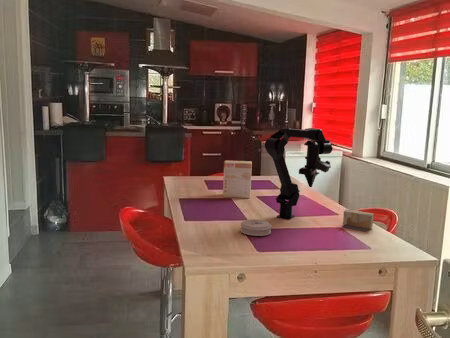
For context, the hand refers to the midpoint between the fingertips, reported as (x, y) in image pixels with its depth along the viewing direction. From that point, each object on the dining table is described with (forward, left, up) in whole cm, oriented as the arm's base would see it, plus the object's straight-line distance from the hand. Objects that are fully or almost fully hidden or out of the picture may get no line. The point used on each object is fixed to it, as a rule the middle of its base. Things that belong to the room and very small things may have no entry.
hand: (310, 187), depth 217 cm
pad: (-8, -26, -13) cm, 30 cm away
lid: (-44, +6, -14) cm, 46 cm away
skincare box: (-8, -19, -10) cm, 23 cm away
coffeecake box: (+8, +45, -13) cm, 48 cm away
